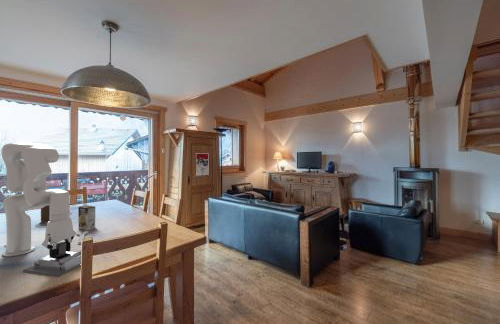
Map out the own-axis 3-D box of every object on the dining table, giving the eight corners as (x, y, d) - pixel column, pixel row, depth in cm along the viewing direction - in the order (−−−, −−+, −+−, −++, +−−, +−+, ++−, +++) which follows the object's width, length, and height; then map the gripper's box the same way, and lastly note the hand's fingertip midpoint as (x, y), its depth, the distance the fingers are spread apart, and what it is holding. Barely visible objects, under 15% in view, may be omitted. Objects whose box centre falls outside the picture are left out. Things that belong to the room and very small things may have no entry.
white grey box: (37, 268, 105) (37, 257, 105) (62, 257, 116) (61, 247, 116) (64, 271, 102) (64, 260, 102) (86, 260, 113) (86, 250, 113)
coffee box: (78, 229, 164) (77, 206, 164) (86, 226, 171) (86, 205, 170) (87, 230, 162) (87, 207, 161) (95, 227, 168) (95, 206, 167)
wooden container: (52, 218, 192) (51, 192, 192) (69, 218, 192) (69, 192, 192) (35, 223, 177) (35, 195, 177) (54, 223, 177) (54, 195, 177)
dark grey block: (52, 265, 108) (53, 244, 108) (61, 261, 112) (61, 241, 112) (59, 266, 107) (60, 245, 107) (67, 262, 111) (68, 242, 111)
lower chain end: (32, 267, 106) (32, 260, 106) (57, 257, 116) (57, 251, 116) (58, 271, 103) (58, 264, 103) (81, 260, 113) (81, 253, 113)
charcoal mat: (23, 271, 104) (23, 269, 104) (59, 256, 119) (59, 254, 119) (58, 276, 100) (58, 274, 100) (90, 260, 115) (90, 258, 115)
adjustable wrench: (83, 245, 137) (83, 242, 136) (69, 247, 133) (69, 244, 133) (89, 232, 159) (89, 229, 158) (77, 233, 155) (77, 231, 155)
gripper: (71, 212, 118) (71, 246, 118) (33, 221, 101) (33, 261, 101) (83, 212, 116) (83, 247, 117) (46, 222, 100) (47, 263, 100)
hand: (60, 253), depth 109 cm, fingers open, 6 cm apart
